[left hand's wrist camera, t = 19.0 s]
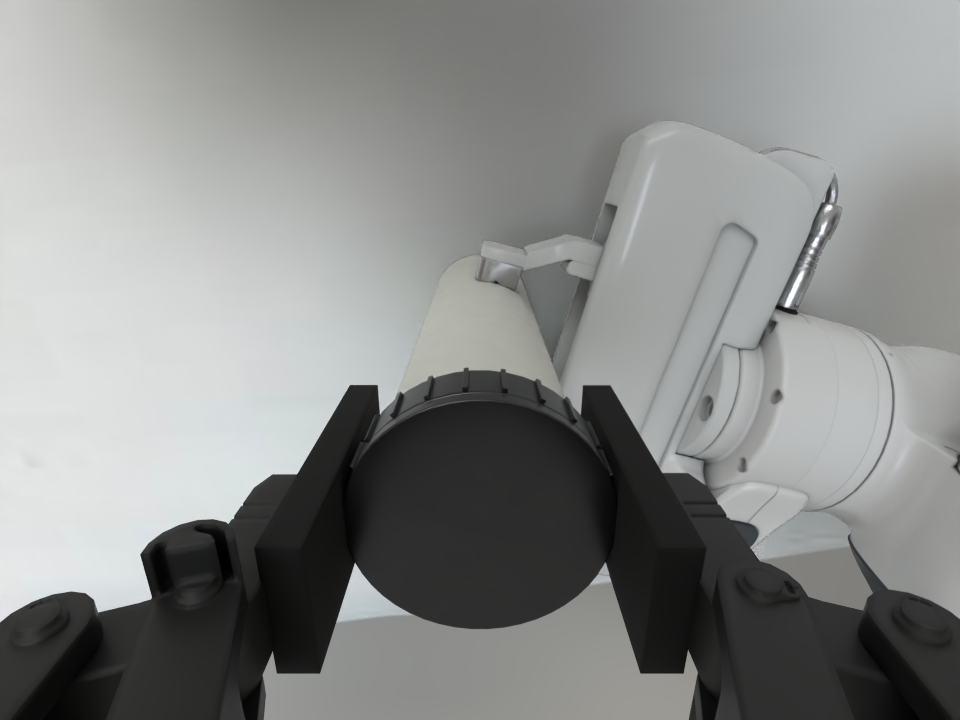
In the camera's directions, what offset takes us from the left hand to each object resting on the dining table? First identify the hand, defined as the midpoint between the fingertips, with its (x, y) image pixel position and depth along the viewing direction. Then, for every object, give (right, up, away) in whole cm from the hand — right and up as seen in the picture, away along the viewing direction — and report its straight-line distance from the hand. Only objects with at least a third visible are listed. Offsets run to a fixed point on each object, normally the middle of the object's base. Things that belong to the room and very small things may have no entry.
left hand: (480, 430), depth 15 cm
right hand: (-1, +3, +8) cm, 9 cm away
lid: (0, -1, -4) cm, 4 cm away
